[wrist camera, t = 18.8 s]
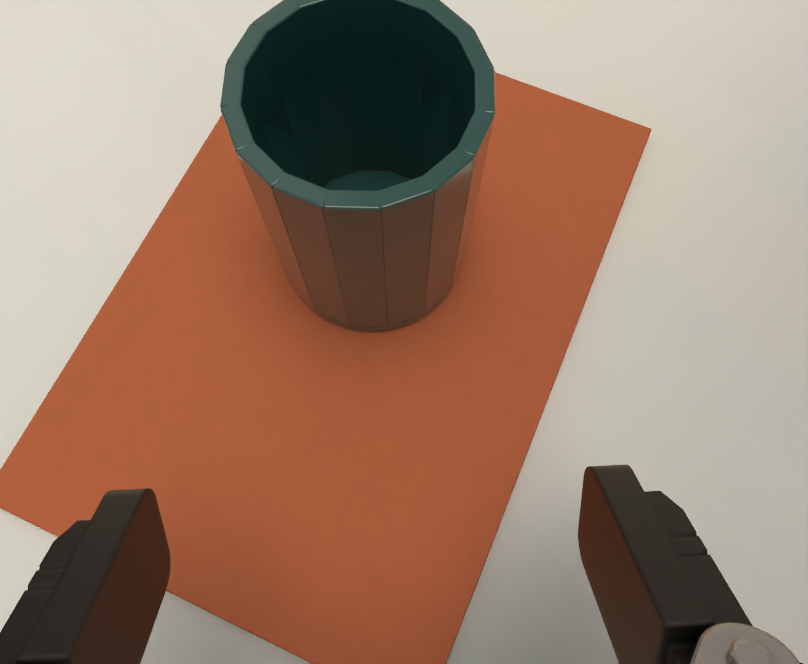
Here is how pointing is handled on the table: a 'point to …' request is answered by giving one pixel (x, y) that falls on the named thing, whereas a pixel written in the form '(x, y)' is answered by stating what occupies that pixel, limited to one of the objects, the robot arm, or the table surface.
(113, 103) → the table surface
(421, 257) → the cup
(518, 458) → the mat
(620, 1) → the table surface
